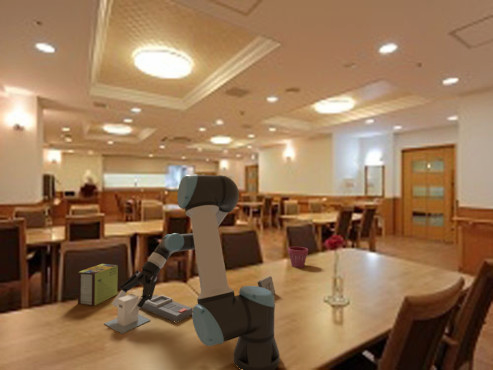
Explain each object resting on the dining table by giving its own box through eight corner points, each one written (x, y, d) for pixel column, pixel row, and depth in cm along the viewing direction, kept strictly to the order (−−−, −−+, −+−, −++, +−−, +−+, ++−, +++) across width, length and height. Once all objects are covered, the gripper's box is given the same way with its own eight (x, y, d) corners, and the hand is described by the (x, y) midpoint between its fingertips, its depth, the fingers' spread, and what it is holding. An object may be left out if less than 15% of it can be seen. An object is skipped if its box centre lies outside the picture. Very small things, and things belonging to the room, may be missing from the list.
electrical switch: (265, 299, 139) (264, 280, 140) (257, 297, 142) (256, 279, 143) (275, 293, 146) (274, 276, 147) (267, 292, 150) (266, 275, 150)
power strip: (192, 314, 121) (192, 305, 121) (176, 322, 114) (176, 312, 114) (155, 300, 136) (155, 292, 136) (139, 307, 129) (139, 298, 129)
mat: (150, 320, 116) (150, 319, 116) (121, 333, 105) (121, 332, 105) (132, 312, 123) (132, 311, 123) (104, 324, 112) (104, 323, 112)
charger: (138, 320, 115) (138, 296, 115) (123, 326, 110) (124, 301, 110) (131, 316, 118) (131, 293, 118) (117, 322, 113) (117, 298, 113)
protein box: (117, 294, 144) (118, 264, 144) (94, 306, 129) (94, 273, 130) (101, 292, 147) (102, 263, 147) (77, 303, 132) (77, 271, 132)
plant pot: (310, 265, 201) (310, 247, 201) (303, 269, 189) (303, 251, 189) (292, 262, 209) (292, 245, 209) (285, 266, 197) (285, 248, 197)
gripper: (176, 274, 120) (146, 322, 107) (142, 264, 134) (112, 306, 122) (167, 265, 116) (134, 313, 103) (133, 256, 130) (100, 298, 117)
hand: (122, 309), depth 112 cm, fingers open, 13 cm apart
